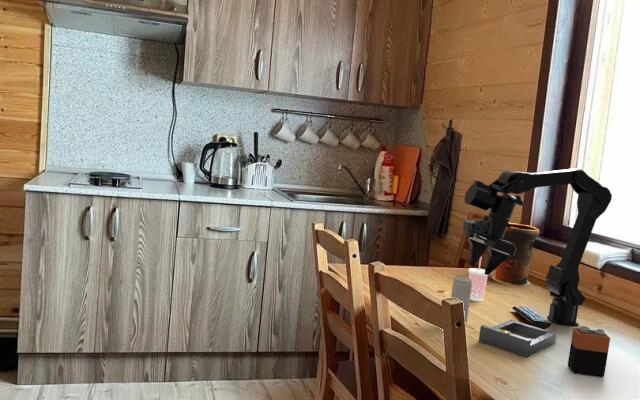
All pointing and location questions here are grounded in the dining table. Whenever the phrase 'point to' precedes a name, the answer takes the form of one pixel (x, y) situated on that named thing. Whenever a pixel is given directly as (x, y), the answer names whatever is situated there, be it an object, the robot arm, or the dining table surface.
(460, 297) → the beverage can
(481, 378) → the dining table surface
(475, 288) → the beverage cup
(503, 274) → the vessel
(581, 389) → the dining table surface
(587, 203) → the robot arm
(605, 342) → the battery
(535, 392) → the dining table surface
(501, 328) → the grey shallow tray
